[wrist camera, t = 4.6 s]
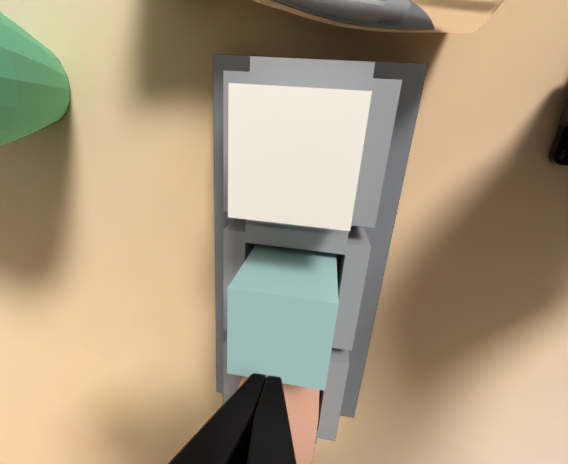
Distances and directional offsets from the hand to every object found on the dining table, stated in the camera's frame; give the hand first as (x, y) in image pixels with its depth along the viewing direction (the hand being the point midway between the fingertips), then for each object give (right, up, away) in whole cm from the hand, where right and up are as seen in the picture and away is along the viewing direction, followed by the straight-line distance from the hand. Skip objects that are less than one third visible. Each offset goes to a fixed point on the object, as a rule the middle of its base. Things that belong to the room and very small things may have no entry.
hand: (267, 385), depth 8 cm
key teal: (+1, +1, +9) cm, 9 cm away
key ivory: (+2, +8, +6) cm, 11 cm away
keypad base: (+1, +2, +11) cm, 12 cm away
